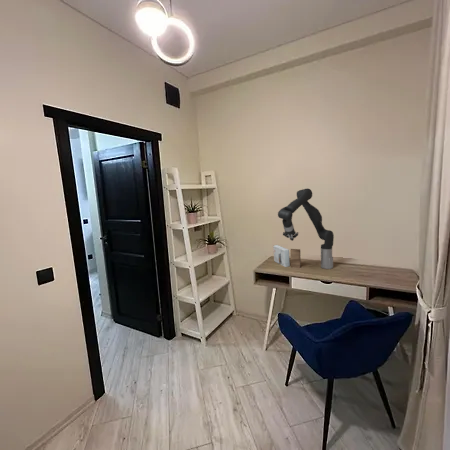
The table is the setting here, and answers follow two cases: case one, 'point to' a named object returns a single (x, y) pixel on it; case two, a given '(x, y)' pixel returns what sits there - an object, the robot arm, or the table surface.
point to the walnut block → (295, 258)
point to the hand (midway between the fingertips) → (292, 239)
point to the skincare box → (281, 255)
